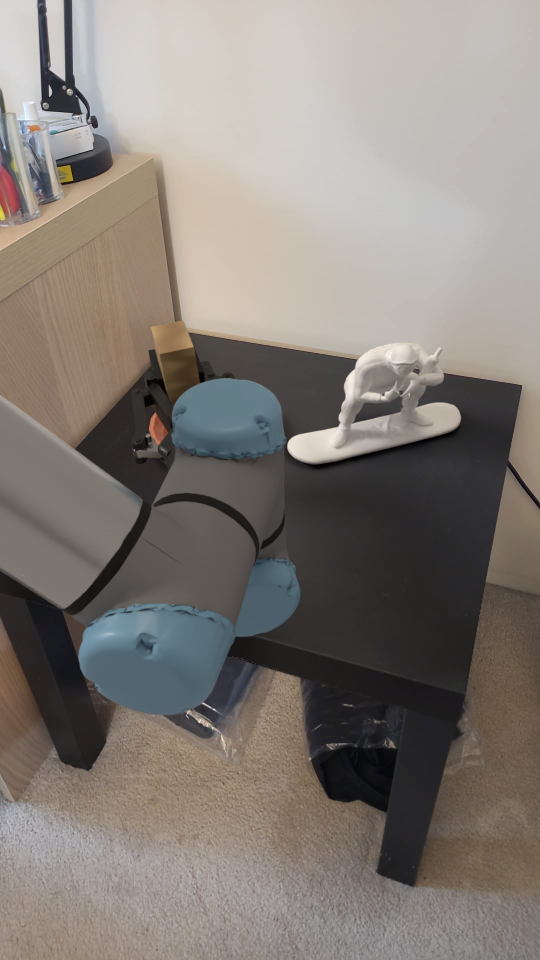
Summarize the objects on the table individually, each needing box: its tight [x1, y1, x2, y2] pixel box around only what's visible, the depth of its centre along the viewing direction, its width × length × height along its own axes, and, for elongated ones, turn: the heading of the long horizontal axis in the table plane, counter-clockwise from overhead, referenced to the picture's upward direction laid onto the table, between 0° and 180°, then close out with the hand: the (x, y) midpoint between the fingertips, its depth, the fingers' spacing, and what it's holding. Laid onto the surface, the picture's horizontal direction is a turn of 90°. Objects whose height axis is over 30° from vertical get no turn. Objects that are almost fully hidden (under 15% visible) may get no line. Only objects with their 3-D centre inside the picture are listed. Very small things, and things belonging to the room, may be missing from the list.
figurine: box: [286, 341, 462, 465], centre depth 89 cm, size 26×13×17 cm, turn 109°
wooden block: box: [150, 320, 200, 406], centre depth 76 cm, size 4×6×13 cm, turn 16°
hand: (172, 357), depth 79 cm, fingers closed on wooden block, 4 cm apart
